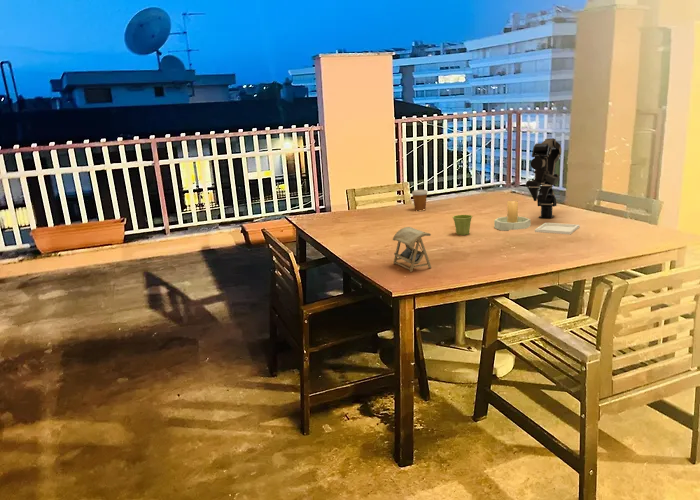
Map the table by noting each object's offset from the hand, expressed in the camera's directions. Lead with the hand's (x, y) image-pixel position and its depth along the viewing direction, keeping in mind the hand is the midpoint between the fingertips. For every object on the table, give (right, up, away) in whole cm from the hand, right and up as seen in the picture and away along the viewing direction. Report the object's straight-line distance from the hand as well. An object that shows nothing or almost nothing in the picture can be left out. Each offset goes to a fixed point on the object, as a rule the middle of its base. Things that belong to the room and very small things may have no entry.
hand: (539, 200), depth 270 cm
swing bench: (-70, -32, -56) cm, 95 cm away
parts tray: (+3, -16, -15) cm, 22 cm away
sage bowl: (-14, -14, -2) cm, 20 cm away
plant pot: (-40, -17, -8) cm, 45 cm away
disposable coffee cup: (-52, -1, +61) cm, 80 cm away
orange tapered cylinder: (-14, -13, -2) cm, 19 cm away
